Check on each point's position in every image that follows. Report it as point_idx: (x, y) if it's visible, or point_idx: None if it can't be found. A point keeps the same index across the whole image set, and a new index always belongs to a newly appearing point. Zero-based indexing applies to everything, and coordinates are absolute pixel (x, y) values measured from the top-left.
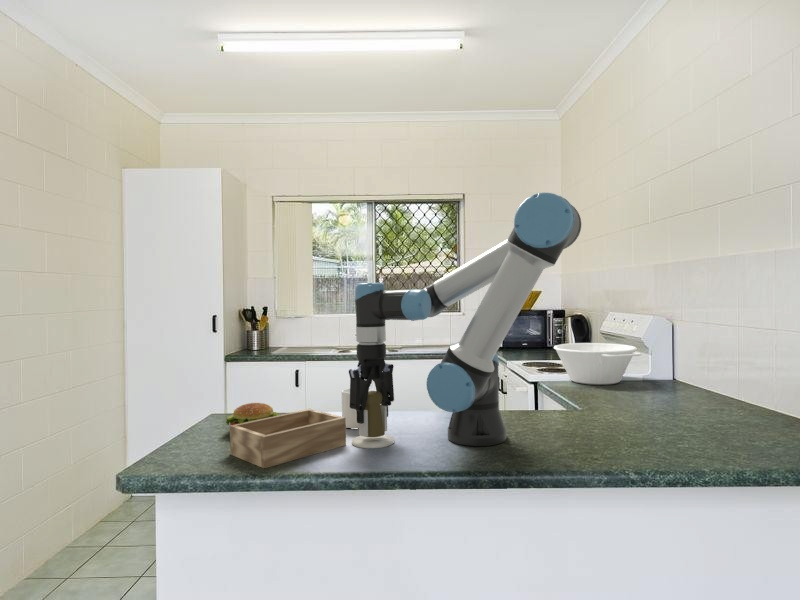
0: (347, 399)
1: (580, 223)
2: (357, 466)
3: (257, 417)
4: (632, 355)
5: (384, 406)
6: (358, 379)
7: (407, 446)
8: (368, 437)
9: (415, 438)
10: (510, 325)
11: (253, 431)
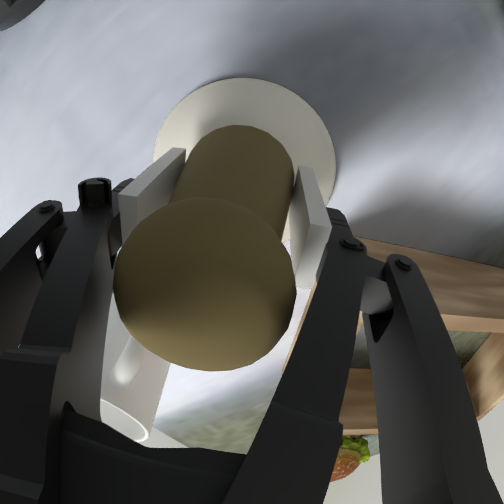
0: (151, 407)
1: None
2: (494, 70)
3: (346, 451)
4: None
5: (136, 197)
6: (469, 473)
7: (211, 14)
8: None
9: (104, 66)
10: None
11: None
